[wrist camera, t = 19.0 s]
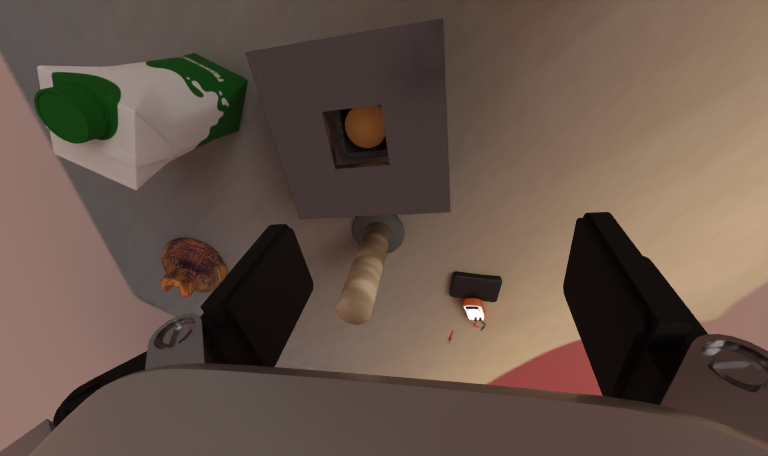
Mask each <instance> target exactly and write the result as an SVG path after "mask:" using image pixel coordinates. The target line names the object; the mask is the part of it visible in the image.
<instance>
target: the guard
mask: <svg viewBox="0 0 768 456" xmlns="http://www.w3.org/2000/svg"><path fill="white" fill-rule="evenodd" d="M245 53H246V56H247V59H248V62H249V65H250V68H251V71H252V74H253V77H254V80H255V83H256V86H257V90H258V93H259V96H260V99H261V102H262V105H263V108H264V111H265V114H266V117H267V120H268V123H269V126H270V129H271V132H272V135H273V138H274V142H275V145H276V148H277V151H278V154H279V157H280V160H281V163H282V166H283V169H284V172H285V175H286V178H287V181H288V184H289V187H290V190H291V194H292V197H293V200H294V203H295V206H296V209H297V212H298V215H299V218H300V219H309V218H331V217H353V216H375V215H397V214H419V213H441V212H450V187H449V165H448V140H447V114H446V88H445V62H444V29H443V19H437V20H431V21H425V22H420V23H414V24H408V25H402V26H396V27H390V28H385V29H379V30H373V31H367V32H361V33H355V34H350V35H344V36H338V37H332V38H326V39H320V40H315V41H309V42H303V43H297V44H291V45H285V46H280V47H274V48H268V49H262V50H256V51H250V52H245ZM376 105H381V107H382V114H383V121H384V128H385V135H386V140H383V141H382V142H381V143H380V144H378V145H377V146H375V147H372V148H363V147H360V146H358V145H356V144H354V143H353V142H352V141H351V140H350V138H349V137H348V135H347V133H346V130H345V120H346V117H347V115H348V113H349V111H348V109H351V108H359V107H367V106H376ZM326 111H332V112H333V117H334V122H335V126H336V131H337V135H338V140H339V144H340V149H341V153H342V158H343V159H352V158H364V157H375V156H387V155H388V157H389V162H377V163H365V164H352V165H340V166H338V164H337V160H336V155H335V151H334V147H333V142H332V138H331V134H330V129H329V125H328V121H327V116H326Z"/></svg>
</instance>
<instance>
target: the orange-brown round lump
mask: <svg viewBox="0 0 768 456" xmlns="http://www.w3.org/2000/svg"><path fill="white" fill-rule="evenodd" d="M345 130H346V133H347V135H348V137H349V138H350V140H351V141H352V142H353V143H354V144H356V145H358V146H360V147H363V148H372V147H375V146H377V145H378V144H380V143H381V142H382V141H383V139H384V137H385V128H384V121H383V114H382V107H381V105H376V106H367V107H359V108H353V109H352V110H351V111H350V112H349V113H348V115H347V117H346V120H345Z"/></svg>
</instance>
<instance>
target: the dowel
mask: <svg viewBox="0 0 768 456" xmlns="http://www.w3.org/2000/svg"><path fill="white" fill-rule="evenodd" d="M390 237H391V231H390V229H389V227H388V226H387V225H385V224H384V223H381V222H372V223H370V224H369V225H368V226H367V227H366V229H365V232H364V235H363V237H362V240H361V243H360V245H359V248H358V251H357V253H356V256H355V259H354V261H353V264H352V267H351V269H350V272H349V275H348V277H347V280H346V282H345V285H344V288H343V290H342V293H341V296H340V298H339V301H338V304H337V306H336V312H337V314H338V316H339V317H340V318H341V319H342V320H344V321H345V322H347V323H350V324H356V325H359V324H364V323H366V322H368V321H369V320H370V318H371V314H372V310H373V306H374V302H375V298H376V294H377V290H378V286H379V282H380V278H381V274H382V270H383V266H384V262H385V258H386V254H387V249H388V245H389V241H390Z"/></svg>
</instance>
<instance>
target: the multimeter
mask: <svg viewBox="0 0 768 456" xmlns="http://www.w3.org/2000/svg"><path fill="white" fill-rule="evenodd" d="M501 284H502V279H501V277H500V276H491V275H480V274H471V273H464V272H458V271H456V272H454V274H453V279H452V285H451V290H450V295H451V296H452V297H456V298H465V299H464V300H463V307H464V308H465V310H466V313H467V318H468V319H469V320H475V321H476V323H477V320H479V321H481V322H482V320H485V310H484V307H483V304H482V301H481V300H483V301H489V302H496V301H497V298H498V294H499V291H500V287H501ZM476 323H474V326H475V324H476ZM482 323H484V322H482ZM484 324H485V323H484ZM485 325H486V324H485ZM485 325H484V327H485ZM475 327H478V326H475ZM484 327H483V328H484ZM483 328H482V329H483ZM482 329H481V330H482ZM452 334H453V331H452V333H451V336H450V337H449V338H450V339H449V342H450V340H451V339H452V338H451V337H452Z"/></svg>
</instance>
